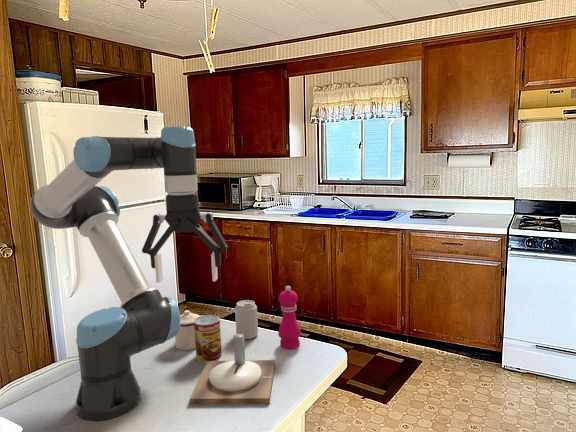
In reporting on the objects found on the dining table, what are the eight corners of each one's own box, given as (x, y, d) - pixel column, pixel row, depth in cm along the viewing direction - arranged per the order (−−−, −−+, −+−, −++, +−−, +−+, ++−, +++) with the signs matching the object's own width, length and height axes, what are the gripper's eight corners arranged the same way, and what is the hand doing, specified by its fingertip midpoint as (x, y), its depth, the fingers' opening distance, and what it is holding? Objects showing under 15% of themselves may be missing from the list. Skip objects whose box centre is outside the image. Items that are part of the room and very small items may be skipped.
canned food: (204, 365, 127) (201, 326, 125) (191, 356, 133) (188, 319, 131) (226, 356, 132) (224, 319, 130) (213, 348, 138) (211, 313, 136)
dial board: (190, 404, 107) (189, 398, 106) (207, 365, 126) (207, 360, 126) (269, 403, 106) (269, 397, 106) (275, 364, 126) (274, 359, 125)
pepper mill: (299, 351, 134) (297, 289, 131) (276, 349, 135) (274, 289, 133) (302, 341, 141) (301, 282, 138) (281, 340, 142) (279, 282, 140)
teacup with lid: (204, 348, 138) (202, 314, 137) (175, 352, 136) (172, 317, 134) (201, 334, 150) (199, 302, 148) (174, 338, 147) (172, 305, 146)
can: (249, 342, 142) (247, 307, 140) (231, 337, 146) (230, 304, 144) (262, 334, 148) (261, 300, 146) (245, 330, 152) (243, 297, 150)
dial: (256, 392, 108) (254, 357, 107) (202, 390, 110) (200, 355, 108) (265, 365, 122) (264, 334, 121) (217, 364, 124) (215, 333, 122)
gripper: (236, 190, 104) (240, 274, 107) (135, 193, 105) (142, 277, 108) (231, 193, 97) (236, 283, 100) (123, 196, 97) (130, 286, 100)
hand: (187, 280), depth 104 cm, fingers open, 13 cm apart
